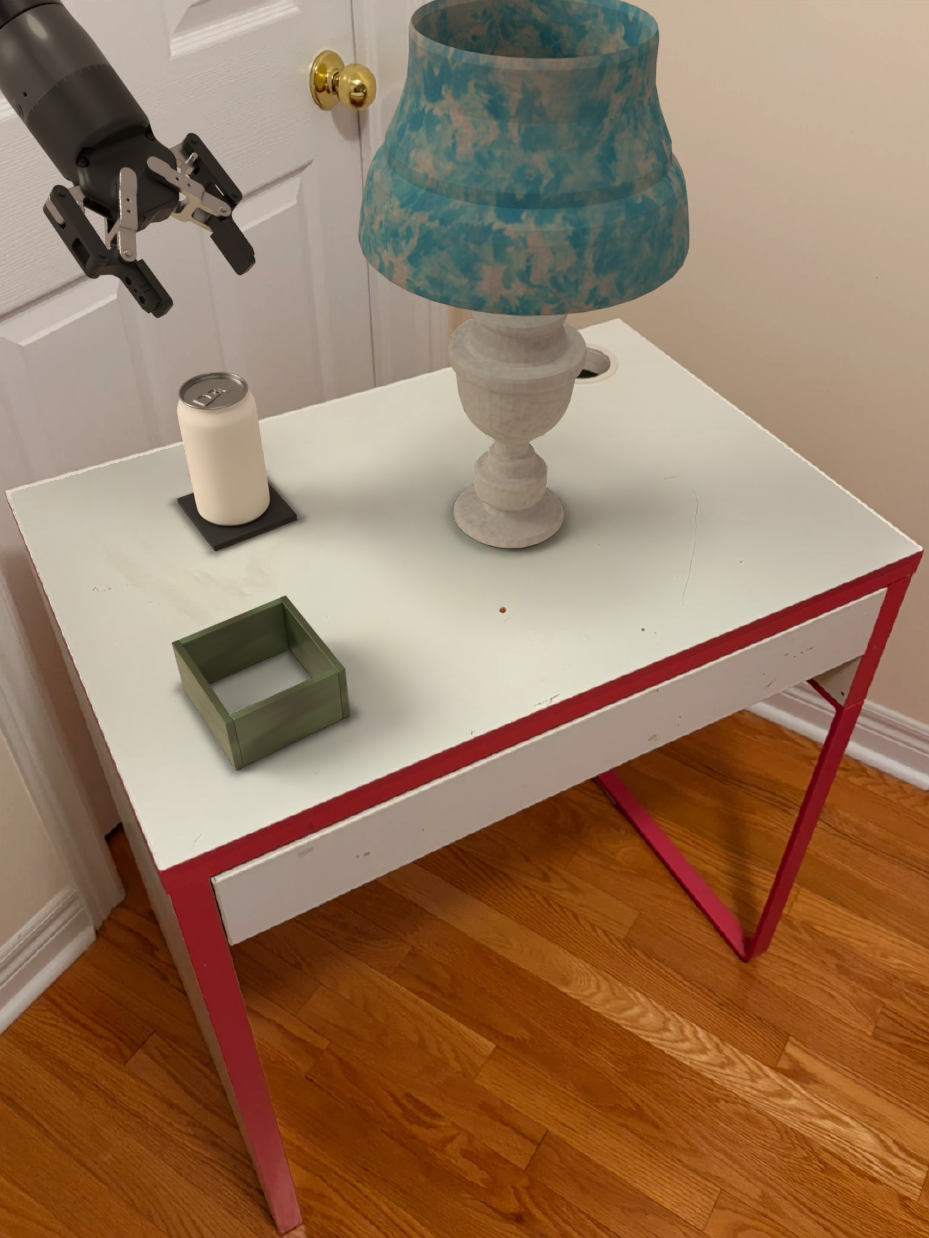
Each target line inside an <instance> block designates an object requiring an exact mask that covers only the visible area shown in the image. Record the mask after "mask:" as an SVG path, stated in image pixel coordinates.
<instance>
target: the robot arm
mask: <svg viewBox="0 0 929 1238" xmlns="http://www.w3.org/2000/svg"><path fill="white" fill-rule="evenodd" d="M0 92H1V94H2V95H3V97H4V98H5V99H6V101H7V102H8V104H9V106H10V107H11V108H12V109H13V110H14V112H15V114H16V115H17V116H18V117H19V119H20V120H21V121H22V123H23V125H24V126H25V127H26V128H27V131H29V132H30V134H31V135H32V137H33V138H34V139H35V140H36V142H37V143H38V145H39V146H40V147H41V149H42V151H44V153H45V154H46V156H47V157H48V159H49V160H50V162H52V164H53V165H54V166H55V168H56V169H57V171H58V172H59V173H60V175H61V176H62V177H63V178H64V179H65V180H66V181H68V182H70V183H72V186H71V187H69V188H68V187H66V186H65V185H62V184H56V185H54V186H53V187H52V189H51V191H50V193H49V195H48V196H47V198H46V201H45V202H44V203H43V206H42V212H43V214H44V215H45V217H46V218H47V220H48V222H50V224H51V226H52V227H53V229H54V230H55V232H56V233H57V235H58V237H60V239H61V240H62V242H63V244H64V245H65V246H66V248H67V250H68V251H69V252H70V254H71V255H72V257H73V258H74V260H75V261H76V263H77V264H78V266H79V267H80V269H81V270H82V272H83V273H84V275H85V276H86V277H88V278H89V279H92V280H96V279H99V278H100V277H101V276H114V277H115V278H117V279H119V280H120V281H121V283H122V284H123V285H124V286H125V288H126V289H127V290H128V292H129V293H130V295H131V296H132V297H133V298H134V300H135V302H137V304H138V306H139V307H140V308H141V309H142V310H143V311H144V312H146V313H147V314H149V315H150V314H152V316H153V317H154V318H156V319H159V318H162V317H164V316H166V315H167V314H168V313H169V312H170V311H171V309H173V306H174V301H173V299H172V297H171V296H170V294H169V292H168V291H167V290H166V288H165V287H164V286H163V284H162V283H161V282H160V281H159V279H158V277H157V276H156V275H155V274H154V272H153V271H152V269H151V268H150V266H149V265H148V263H147V262H146V261H145V260H144V259H143V258H140V259H139V260H138V259H137V257H138V253H137V233H140V232H141V231H144V230H146V229H147V228H148V226H149V225H150V224H155V223H161V222H163V221H166V220H168V219H169V218H170V217H173V218H175V220H178V221H180V222H182V223H187V222H190V223H193V224H194V225H196V226H198V227H200V228H203V229H204V230H206V231H208V232H210V233H211V234H210V235H209V238H210V239H211V241H213V243H214V245H215V246H216V247H217V249H218V250H219V251H220V253H221V254H222V256H223V257H224V258H225V260H226V261H227V263H228V265H230V267H231V268H232V270H233V271H234V272H235V274H236V275H238V276H242V275H244V274H246V273H248V272H249V271H250V270H251V269H252V268H253V267H254V266H255V264H256V262H257V261H256V257H255V255H256V253H255V250H254V247H253V246H252V244H251V243H250V241H249V240H248V238H246V236H245V234H244V233H243V231H242V230H241V229H240V227H239V226H238V225H237V223H236V222H235V220H234V218H233V211H234V210H236V208H237V206H238V205H239V204H240V202H241V201H242V200H243V198H244V197H243V193H242V191H241V189H240V188H239V187H238V186H237V185H236V183H235V182H234V181H233V179H232V178H231V177H230V175H229V174H228V172H226V170H225V168H224V167H223V166H222V165H221V163H220V162H219V161H218V160H217V159H216V157H215V156H214V154H213V153H212V151H210V149H209V148H208V147H207V145H206V144H205V143H204V141H203V140H202V139H201V138H200V136H199V135H197V133H194V132H189V133H187V134H186V135H185V137H184V138H183V139H182V141H181V142H180V143H178V144H176V145H174V146H171V147H170V148H168V147H167V146H165V144H163V143H162V142H161V141H159V140H158V139H157V137H156V136H155V134H154V131H153V129H152V125H151V122H150V119H149V117H148V114H146V112H145V111H144V110H143V108H142V107H141V105H140V104H139V103H138V101H137V100H136V98H135V97H134V95H133V94H132V93H131V91H130V90H129V88H128V87H127V85H126V84H125V82H124V81H123V80H122V78H121V77H120V76H119V74H118V73H117V71H116V70H115V68H114V67H113V66H112V65H111V63H110V62H109V60H108V59H107V57H106V56H105V55H104V53H103V52H102V50H101V48H100V47H99V46H98V44H97V43H96V41H95V40H94V39H93V38H92V36H91V35H90V34H89V32H87V30H85V28H84V27H83V26H82V25H81V24H80V23H79V21H77V19H76V18H75V17H74V16H73V15H72V13H71V12H70V11H69V10H68V9H67V7H66V6H65V4H64V3H63V1H62V0H0ZM178 169H180V171H178ZM180 194H182V195H183V196H186V197H185V198H184V199H183V200H180ZM86 209H88V210H89V211H91V212H93V213H95V214H97V215H99V216H101V217H103V221H104V222H103V223H104V241H103V240H102V238H101V237H100V235H99V233H98V231H96V229H95V227H94V225H92V223H91V221H90V220H89V219H88V217H87V216H86Z"/></svg>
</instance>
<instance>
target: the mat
mask: <svg viewBox="0 0 929 1238" xmlns="http://www.w3.org/2000/svg"><path fill="white" fill-rule="evenodd" d="M268 488H269V496H270V502H269V506H268V508H267V509H266V510H265V512H264V513H263V514H262V515H261V516H260V517H259V518H257V519H256V520H254V521H252V522H250V523H247V524H244V525H239V526H220V525H216V524H213V523H211V522H209V521H208V520H206V519H204V518H203V517H202V516H201V515H200V513H199V512H198V509H197V505H196V501H195V496H194V492H191V493H188V494H185V495H183V496H180V497H177V498H176V500H177V504H178V505H179V507H180V508H181V510H182V511H183V512H184V513H185V515H186V516H187V517H188V518H189V520H190V522H192V524H193V525H194V526H195V528H196V529H197V530H198V531H199V533H200V534H201V535H202V537H203V538H204V539H205V541H206V542H207V543H208V544H209V546H210V547H211V548H212V550H213V551H214V552H217V551H218V550H221V549H224V548H226V547H229V546H232V545H234V544H237V543H239V542H242V541H245V540H247V539H250V538H253V537H255V536H257V535H260V534H263V533H266V532H268V531H271V530H273V529H276V528H279V527H281V526H284V525H287V524H289V523H291V522H294V521H296V520H298V514H297V513H296V511H295V510H294V509H292V508H291V506H290V505H289V504H288V503H287V501H286V500H284V498H283V497H282V496H281V495H280V494H279V492H277V490H275V488H274V487H273V486H272V485H271V484H270V483H269V482H268Z"/></svg>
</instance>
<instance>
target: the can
mask: <svg viewBox="0 0 929 1238" xmlns="http://www.w3.org/2000/svg"><path fill="white" fill-rule="evenodd" d="M178 398H179V399H178V402H177V407H176V415H177V419H178V425H179V429H180V435H181V439H182V443H183V449H184V453H185V459H186V464H187V468H188V473H189V478H190V483H191V487H192V493H194V496H195V501H196V505H197V509H198V512H199V513H200V515H201V516H202V517H203V518H204V519H206V520H208V521H209V522H211V523H213V524H216V525H220V526H239V525H244V524H247V523H250V522H252V521H254V520H256V519H257V518H259V517H260V516H261V515H262V514H263V513H264V512H265V510H266V509H267V508H268V506H269V502H270V496H269V488H268V483H269V481H268V475H267V467H266V462H265V461H266V460H265V455H264V448H263V441H262V435H261V428H260V421H259V416H258V415H259V414H258V409H257V404H256V399H255V397H254V396H253V394H252V393H251V392H250V390H249V385H248V382H247V381H246V380H245V378H243V377H241V376H240V375H238V374H235V373H232V372H227V371H210V372H204V373H201V374H197V375H195V376H192V377H191V378H189V379H187V380H185V381H184V382H183V383H182V384H181V385H180V387H179V389H178Z"/></svg>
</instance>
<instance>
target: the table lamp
mask: <svg viewBox="0 0 929 1238" xmlns="http://www.w3.org/2000/svg"><path fill="white" fill-rule="evenodd" d="M411 15H412V16H411V17H410V21H409V24H408V58H407V70H406V71H407V72H406V79H405V82H404V85H403V88H402V92H401V94H400V98H399V100H398V103H397V105H396V107H395V110H394V112H393V114H392V117H391V119H390V121H389V123H388V126H387V128H386V130H385V134H384V140H383V142H382V144H381V145H380V146H379V148H377V150H376V152H375V154H374V156H373V158H372V160H371V161H370V166H369V167H368V170H367V174H366V178H365V183H364V188H363V192H362V198H361V205H360V212H359V221H358V222H359V223H358V234H357V238H358V243H359V246H360V249H361V252H362V255H363V257H364V258H365V259H366V261H367V262H368V263H369V264H370V266H371V267H372V268H373V269H374V270H375V271H377V272H378V273H379V274H380V275H381V276H383V277H384V278H385V279H387V280H388V281H389V282H391V283H393V284H394V285H396V286H398V287H399V288H401V289H403V290H405V291H406V292H409V293H411V294H413V295H416V296H418V297H420V298H421V297H422V298H424V299H426V300H429V301H431V302H434V303H437V304H442V305H444V306H445V305H446V306H450V307H453V308H457V309H460V310H461V309H462V310H467V311H470V314H471V318H469V319H467V320H465V321H463V322H462V323H461V324H459V325H458V326H457V327H456V328H455V329H454V330H453V331H452V333H451V334H450V337H449V339H448V341H447V359H448V361H449V364H450V367H451V369H452V370H453V371H454V372H455V378H456V385H457V393H458V397H459V400H460V403H461V407H462V409H463V412H464V413H465V415H466V417H467V418H468V419H469V421H470V422H471V423H472V424H473V425H474V426H475V427H476V428H477V429H478V430H479V431H480V432H482V433H483V434H484V435H485V436H488V437H490V438H492V439H493V441H494V442H493V443H491V445H490V446H489V448H488V450H486V451H485V452H483V453H481V455H480V456H478V458H477V459H476V461H475V463H474V474H473V475H474V477H473V478H474V479H473V484H471V485H469V486H468V487H466V488H465V490H463V491H462V493H460V494H459V496H458V497H457V499H456V500H455V503H454V506H453V517H454V521H455V523H456V524H457V526H458V527H459V529H461V531H462V532H463V533H465V535H467V536H468V537H470V538H472V539H473V540H474V541H477V542H479V543H480V544H482V545H487V546H491V547H494V548H497V549H498V548H499V549H524V548H527V547H530V546H533V545H538V544H541V543H542V542H544V541H546V540H548V539H549V538H550V537H552V536H553V535H556V533H557V532H558V531H559V530H560V529H561V526H562V525H563V523H564V519H565V511H564V510H565V509H564V507H563V505H562V502H561V500H559V498H558V497H557V496H556V494H555V492H553V490H551V489H550V488H549V487H548V486H547V480H548V465H547V463H546V461H545V459H544V458H543V457H542V456H540V455H539V454H538V453H537V452H536V450H535V448H534V447H533V445H532V444H531V442H532V441H533V440H535V439H537V438H540V437H543V436H545V435H546V434H547V433H548V432H550V431H551V430H552V429H554V427H556V426H557V425H558V423H559V422H560V421H561V420H562V419H563V417H564V415H566V412H567V410H568V408H569V406H570V404H571V400H572V395H573V391H574V388H575V383H576V379H577V378H578V377H579V376H580V374H581V372H582V371H583V370H584V367H585V366H586V361H587V356H588V355H587V353H588V349H587V343H586V340H585V339H584V337H583V335H582V333H581V332H580V331H579V330H577V328H576V327H575V326H572V325H571V324H570V323H568V322H567V321H566V320H567V317H568V315H571V314H572V315H573V314H582V313H583V314H584V313H589V312H593V311H598V310H603V309H609V308H612V307H613V308H614V307H616V306H619V305H622V304H625V303H628V302H631V301H632V302H633V301H634V300H637V299H639V298H641V297H643V296H645V295H648V294H650V293H652V292H654V291H656V290H657V289H659V288H660V287H661V286H663V285H664V284H666V283H667V282H669V281H670V280H671V279H673V278H674V277H675V276H676V274H677V273H678V272H679V271H680V270H681V268H682V267H683V266H684V264H685V262H686V259H687V257H688V253H689V250H690V236H691V235H690V215H689V214H690V213H689V212H690V211H689V199H688V191H687V180H686V178H685V175H684V170H683V168H682V165H681V164H680V162H679V160H678V158H677V156H676V155H675V154H674V152H673V141H672V137H671V135H670V132H669V128H668V126H667V122H666V119H665V117H664V113H663V110H662V108H661V102H660V97H659V91H658V88H657V63H658V55H659V47H660V46H659V45H660V29H659V24H658V22H657V20H656V18H655V17H654V16H652V14H650V13H649V12H648V11H647V10H644V9H643V8H641V7H639V6H637V5H634V4H631V3H629V2H627V1H623V0H431V1H429V2H427V3H425V4H423V5H421V6H420V7H418V8H417V9H416V10H415V11H414V12H413V14H411Z"/></svg>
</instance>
